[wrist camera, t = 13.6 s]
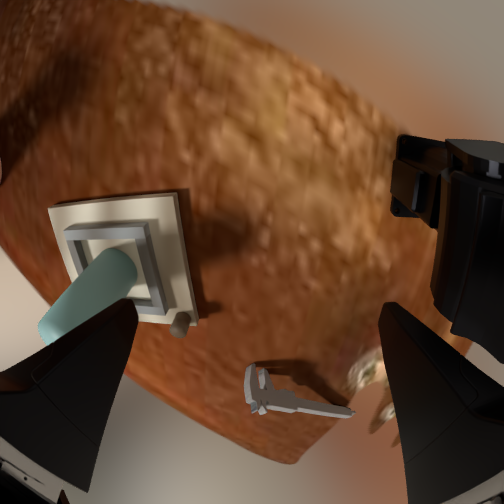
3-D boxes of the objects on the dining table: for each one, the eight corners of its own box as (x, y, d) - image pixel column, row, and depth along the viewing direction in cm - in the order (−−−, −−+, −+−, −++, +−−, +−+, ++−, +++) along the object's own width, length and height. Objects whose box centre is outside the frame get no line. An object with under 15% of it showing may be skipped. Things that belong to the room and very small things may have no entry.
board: (177, 192, 21) (163, 205, 18) (199, 319, 27) (192, 340, 25) (53, 205, 22) (35, 216, 20) (89, 308, 28) (77, 324, 26)
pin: (130, 247, 23) (68, 324, 14) (142, 289, 25) (95, 370, 16) (92, 248, 23) (29, 316, 14) (105, 287, 25) (55, 358, 16)
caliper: (246, 363, 31) (240, 409, 25) (252, 359, 30) (246, 405, 25) (350, 412, 36) (354, 447, 30) (356, 409, 35) (361, 444, 30)
